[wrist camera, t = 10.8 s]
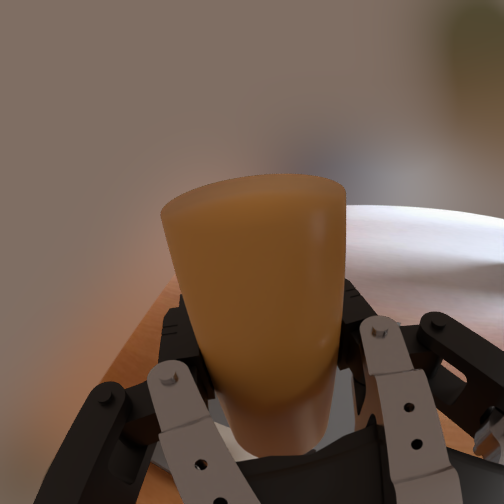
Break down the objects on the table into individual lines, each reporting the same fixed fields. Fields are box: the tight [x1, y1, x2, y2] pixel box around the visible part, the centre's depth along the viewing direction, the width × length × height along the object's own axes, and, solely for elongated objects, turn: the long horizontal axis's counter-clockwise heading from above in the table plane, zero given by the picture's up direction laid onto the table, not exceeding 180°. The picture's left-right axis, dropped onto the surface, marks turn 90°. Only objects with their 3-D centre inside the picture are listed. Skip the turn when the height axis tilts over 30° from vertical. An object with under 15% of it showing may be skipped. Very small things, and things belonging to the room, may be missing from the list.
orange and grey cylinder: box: [161, 174, 346, 458], centre depth 10 cm, size 4×4×14 cm
